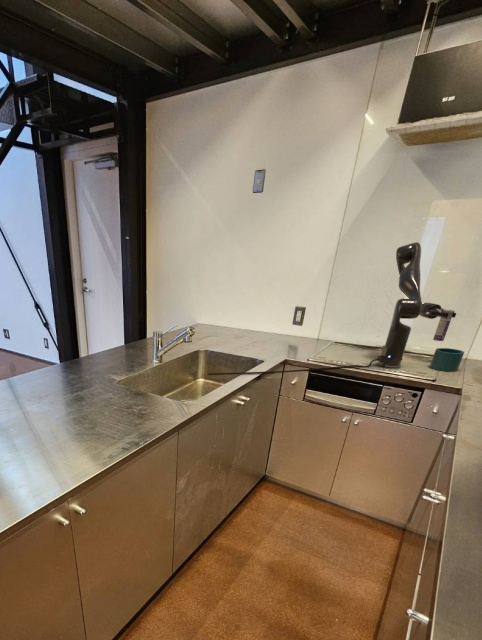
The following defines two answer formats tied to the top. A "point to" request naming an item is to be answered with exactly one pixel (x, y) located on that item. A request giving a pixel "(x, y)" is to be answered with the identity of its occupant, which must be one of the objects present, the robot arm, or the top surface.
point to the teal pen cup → (446, 359)
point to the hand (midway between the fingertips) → (451, 315)
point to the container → (443, 326)
